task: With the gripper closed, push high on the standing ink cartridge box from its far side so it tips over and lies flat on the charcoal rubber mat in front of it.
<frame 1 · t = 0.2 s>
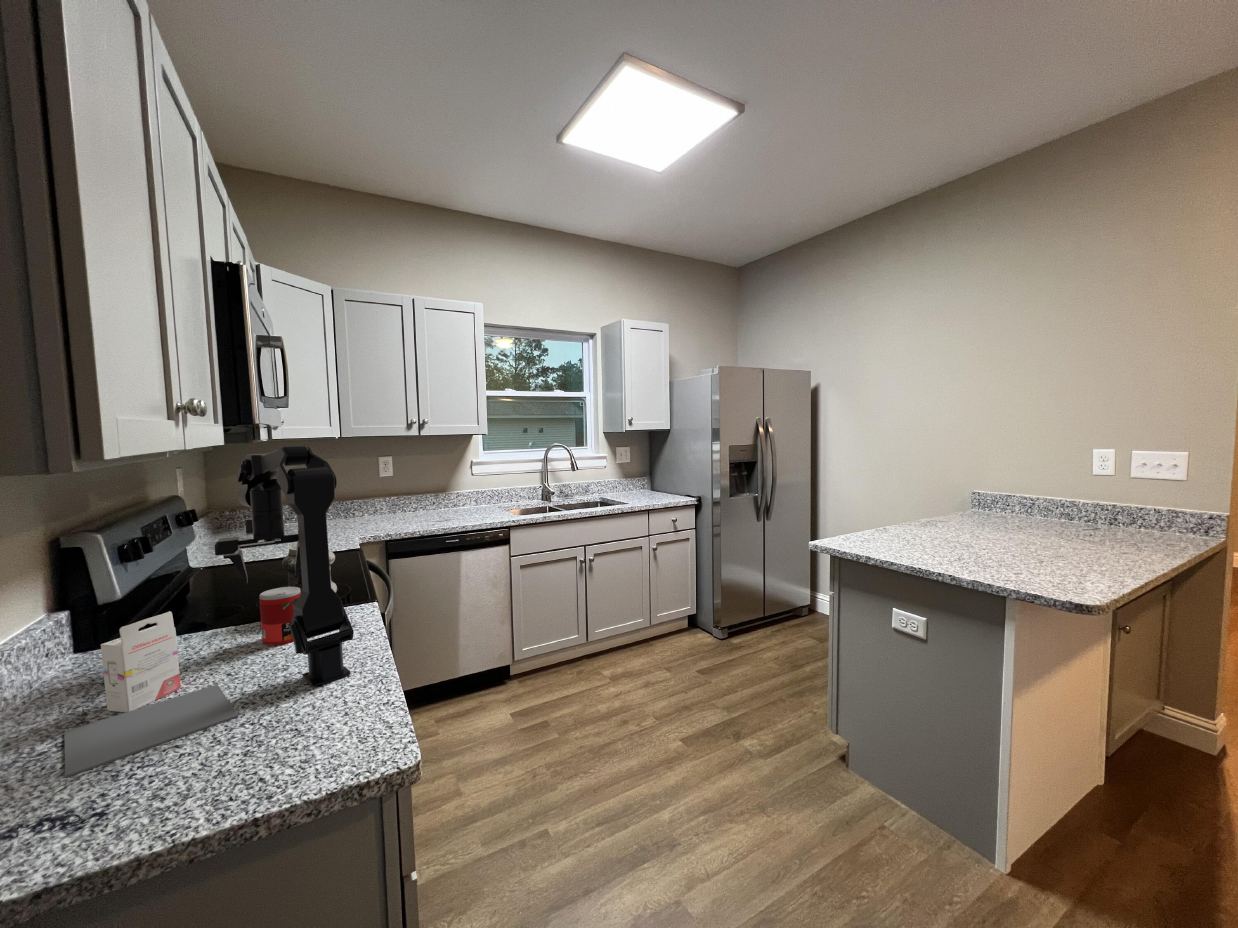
hand: (272, 579, 112), 14 cm above the counter, tool pointing down, fingers open, 9 cm apart
canned food: (283, 639, 114), on the counter
apothecary jar: (311, 613, 131), on the counter
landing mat: (153, 724, 80), on the counter
ink cartridge box: (145, 700, 88), on the counter
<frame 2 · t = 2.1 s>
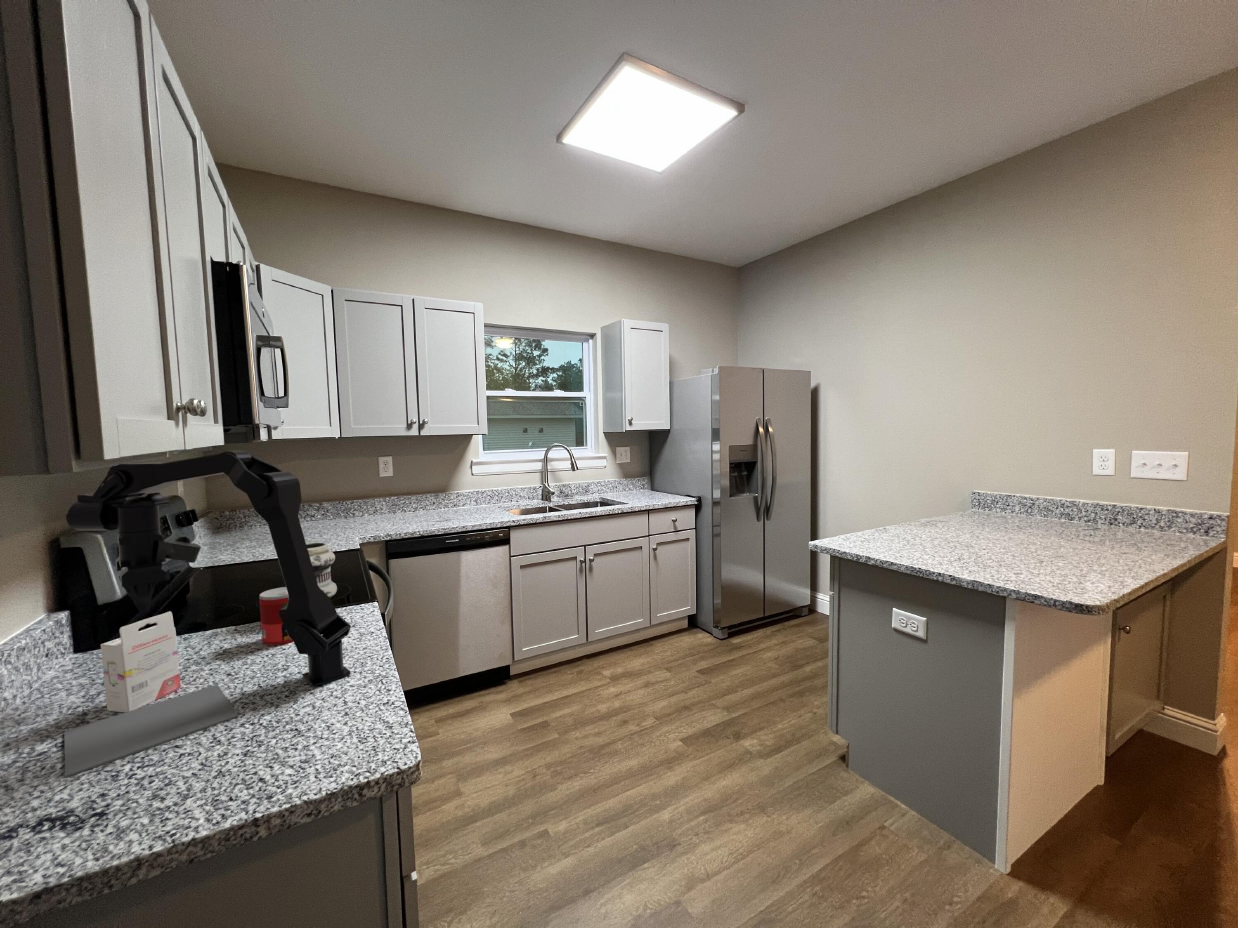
hand: (144, 612, 94), 13 cm above the counter, tool pointing down, fingers closed
nothing on the counter moved.
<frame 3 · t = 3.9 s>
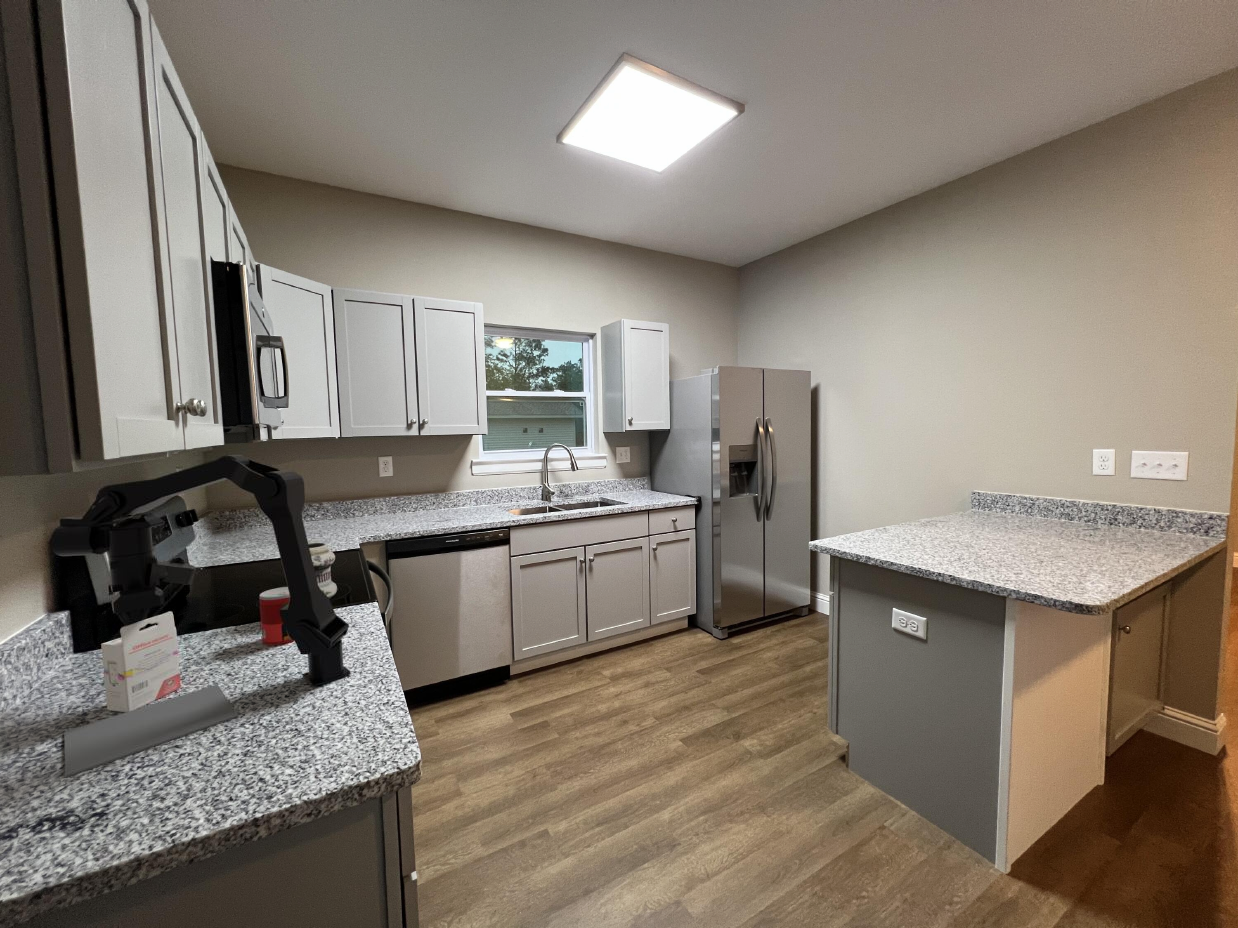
hand: (138, 637, 91), 10 cm above the counter, tool pointing down, fingers closed
ink cartridge box: (144, 699, 88), on the counter, touching gripper
everything else where it was.
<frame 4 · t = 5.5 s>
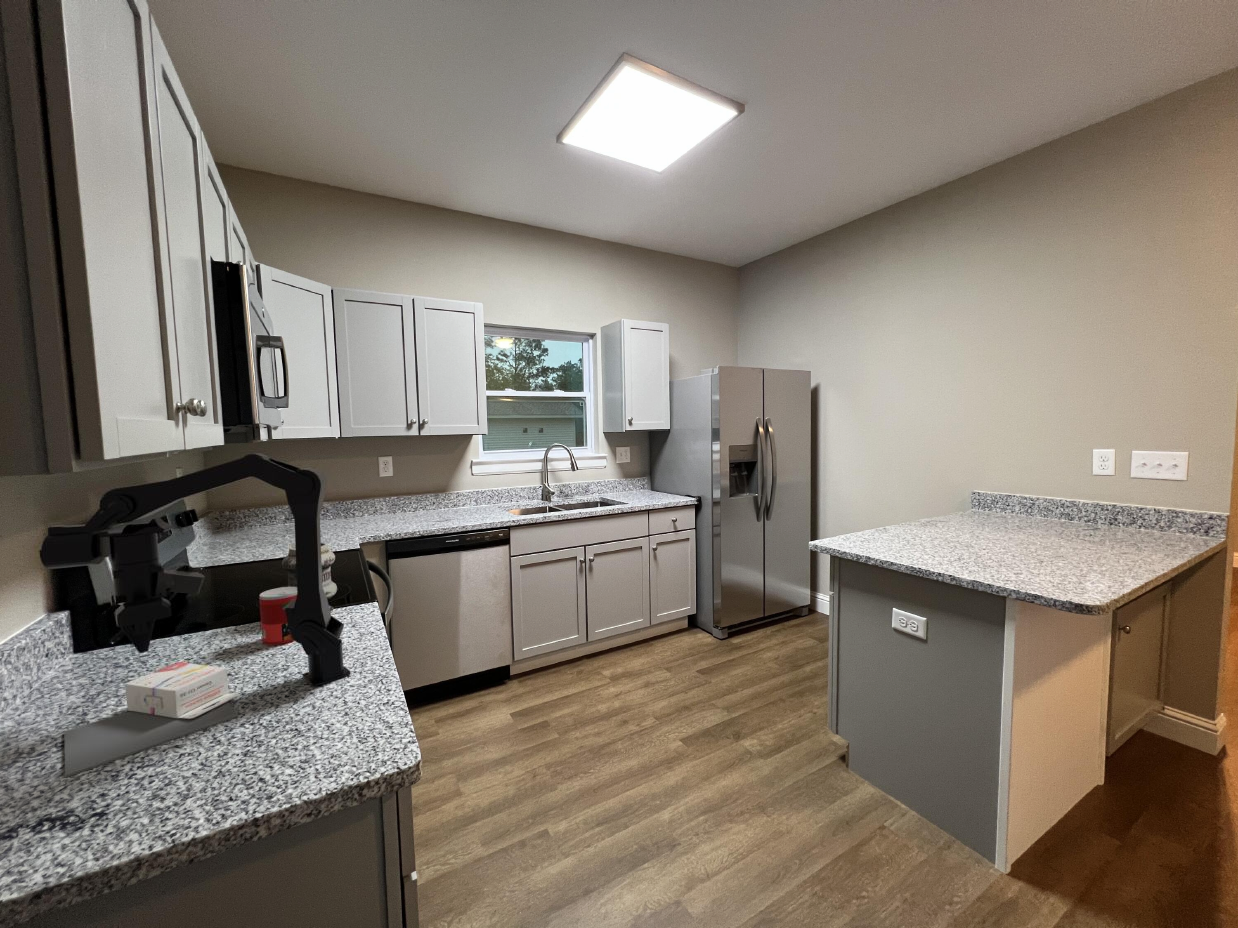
hand: (143, 651, 85), 10 cm above the counter, tool pointing down, fingers closed
ink cartridge box: (153, 684, 88), point 3 cm above the counter, touching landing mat
everything else where it was.
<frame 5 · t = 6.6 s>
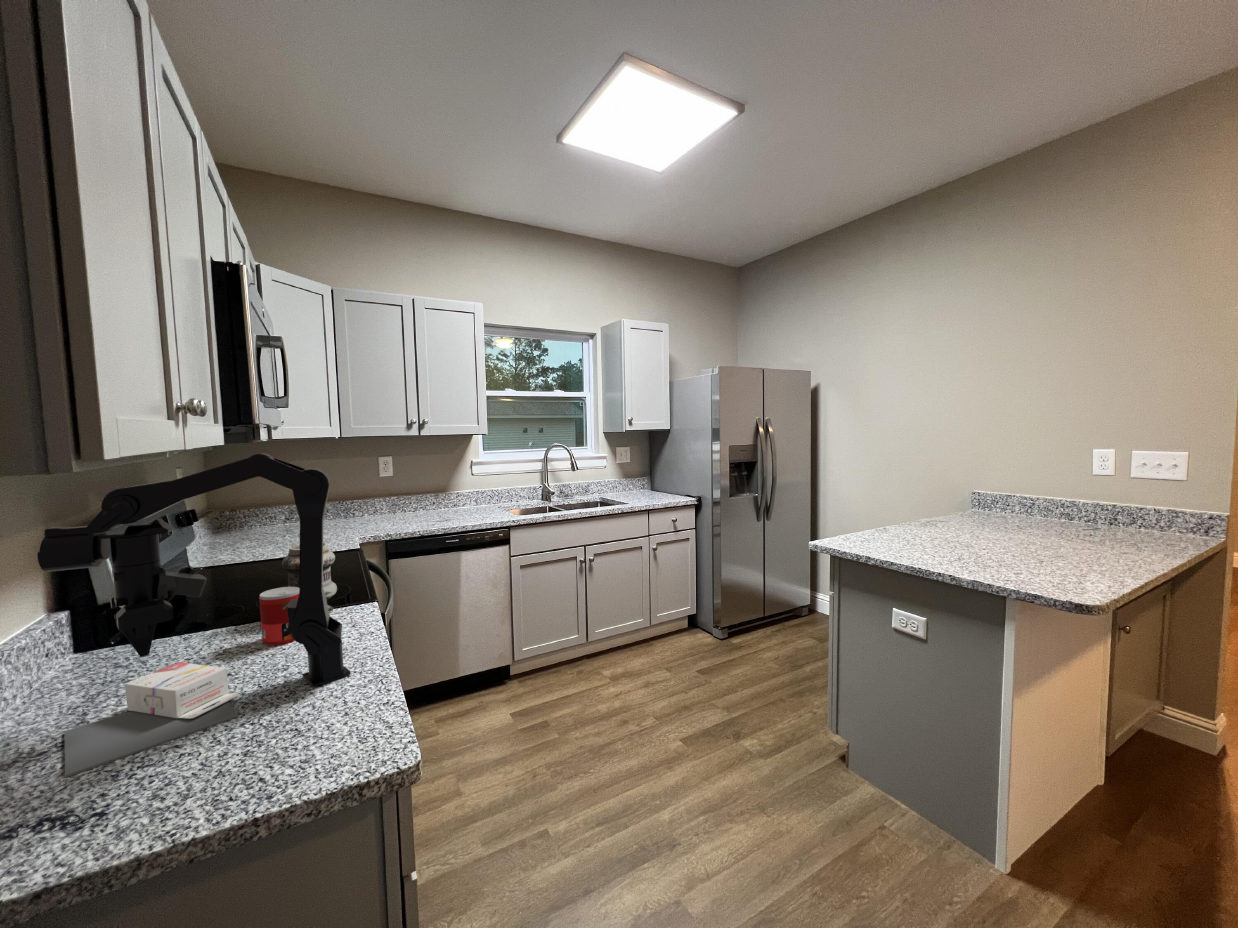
hand: (144, 655, 83), 10 cm above the counter, tool pointing down, fingers closed
nothing on the counter moved.
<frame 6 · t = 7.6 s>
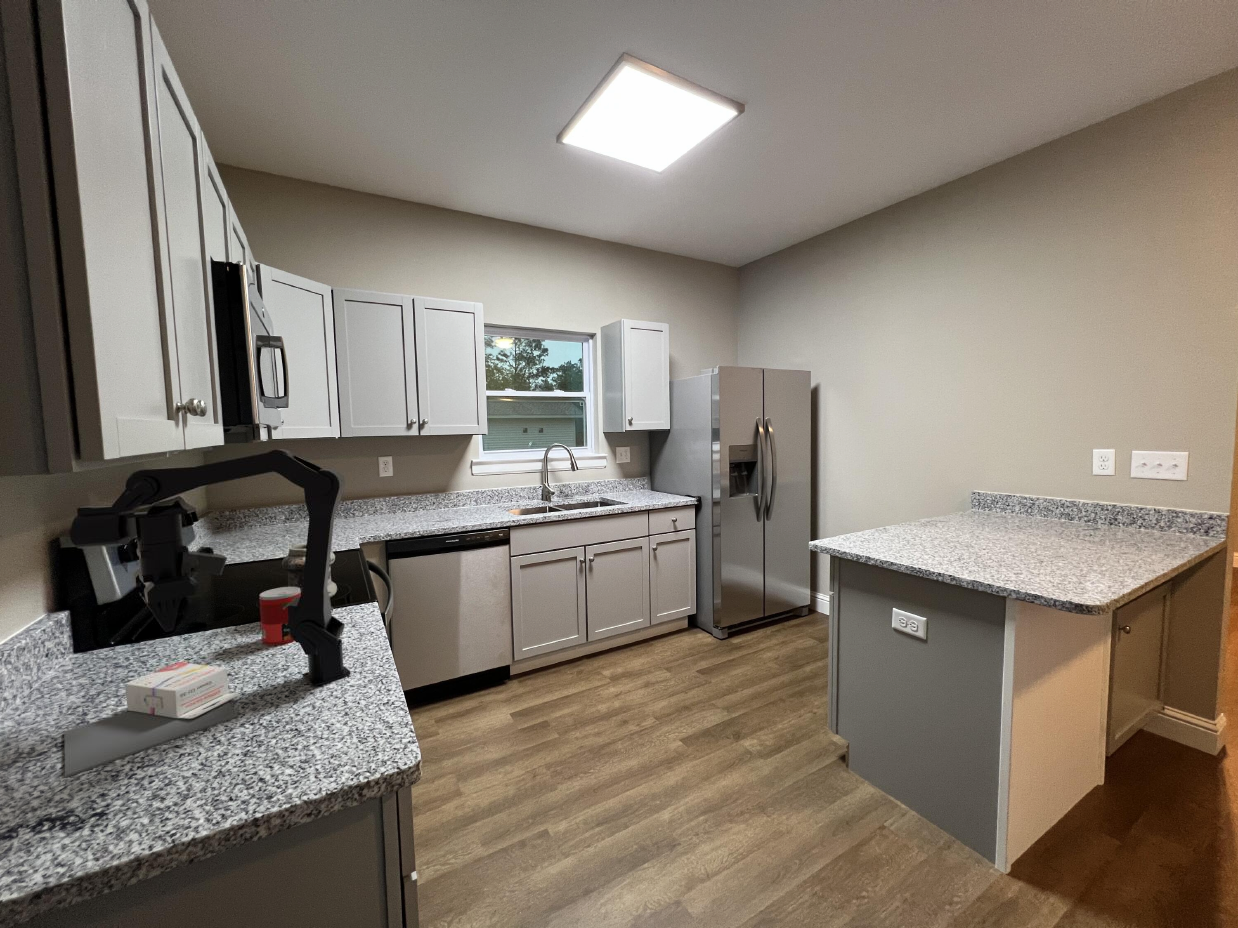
hand: (169, 630, 86), 13 cm above the counter, tool pointing down, fingers closed
nothing on the counter moved.
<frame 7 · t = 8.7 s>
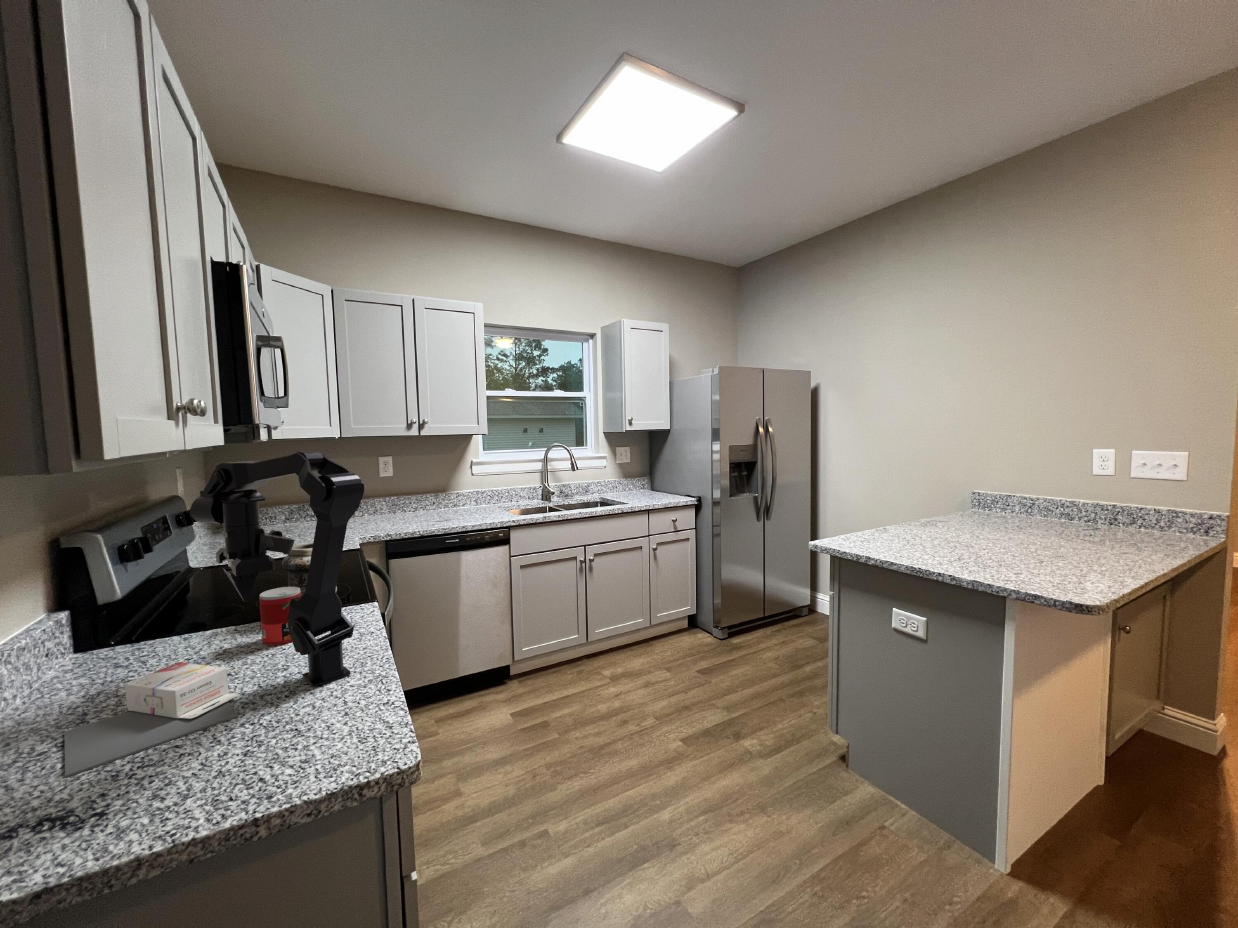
hand: (247, 601, 101), 13 cm above the counter, tool pointing down, fingers closed
nothing on the counter moved.
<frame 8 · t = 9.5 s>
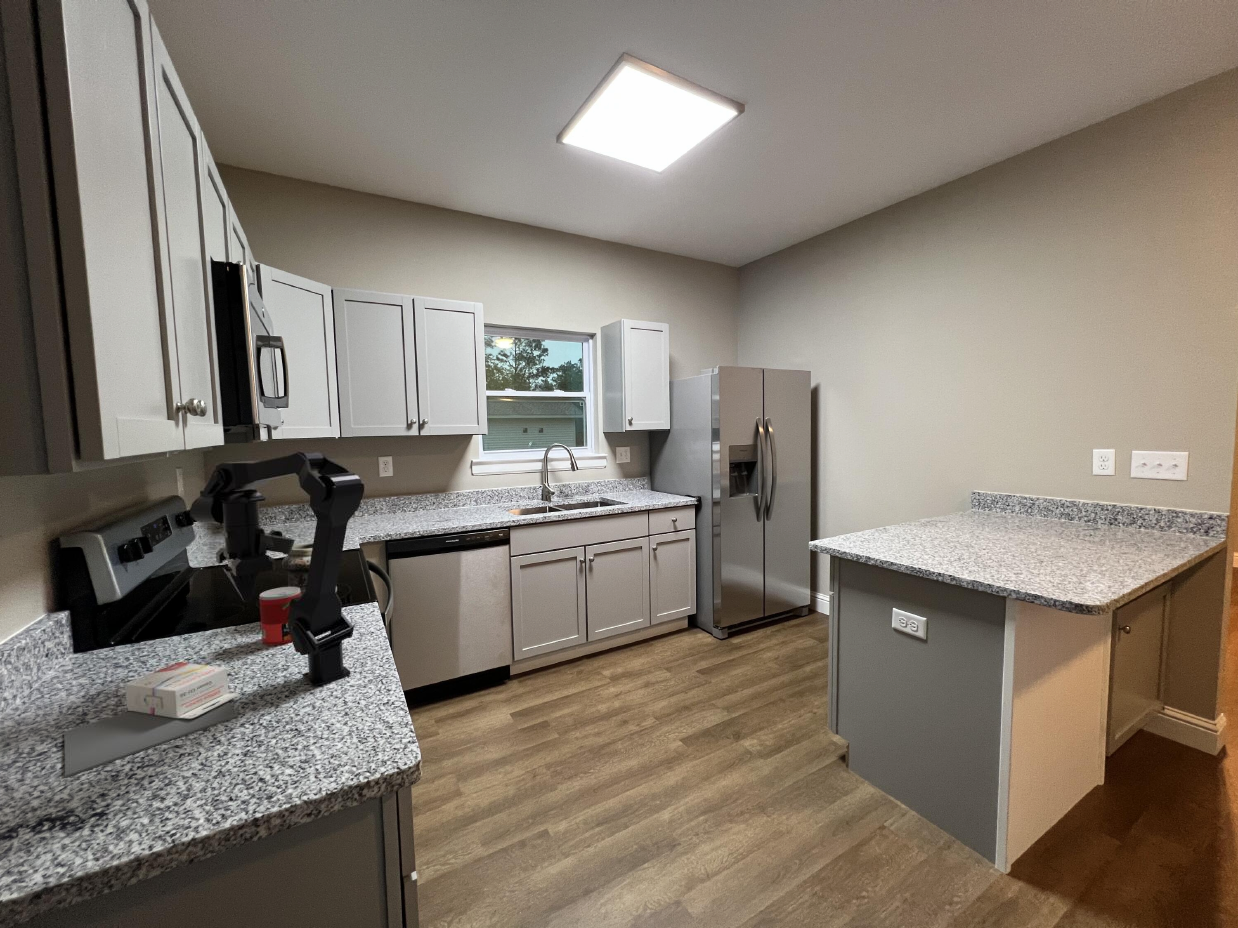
hand: (247, 601, 101), 13 cm above the counter, tool pointing down, fingers closed
nothing on the counter moved.
at the end: ink cartridge box tilted 90°; ink cartridge box touching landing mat; the gripper is holding nothing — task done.
